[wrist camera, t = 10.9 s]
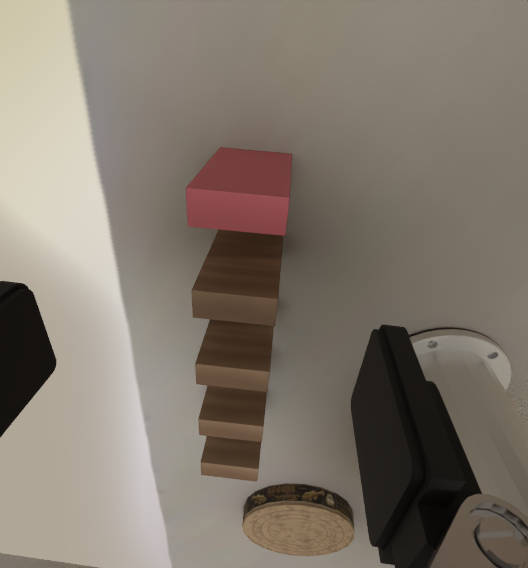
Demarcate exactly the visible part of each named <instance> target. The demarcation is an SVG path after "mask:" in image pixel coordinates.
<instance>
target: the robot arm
mask: <svg viewBox="0 0 528 568" xmlns="http://www.w3.org/2000/svg"><path fill="white" fill-rule="evenodd" d="M55 367H56V358H55V355H54V352H53V349H52V346H51V343H50V341H49V338H48V335H47V332H46V329H45V326H44V323H43V320H42V317H41V314H40V311H39V308H38V305H37V303H36V300H35V297H34V294H33V292H32V291H31V290H29V289H28V287H27V286H26V285H25V284H22V283H15V282H6V281H0V437H1V436H2V435H3V433H4V432H5V431H6V430H7V428H8V427H9V426H10V425H11V423H12V422H13V421H14V420H15V418H16V417H17V416H18V415H19V413H20V412H21V411H22V410H23V409H24V407H25V406H26V405H27V404H28V402H29V401H30V400H31V399H32V398H33V396H34V395H35V394H36V393H37V391H38V390H39V389H40V388H41V387H42V385H43V384H44V383H45V382H46V380H47V379H48V378H49V377H50V375H51V374H52V373H53V371H54V370H55ZM511 375H512V370H511V365H510V362H509V360H508V358H507V356H506V355H505V353H504V352H503V351H502V350H501V348H500V347H499V346H498V345H497V344H496V343H495V342H493V341H492V340H491V339H489V338H487V337H485V336H483V335H481V334H478V333H474V332H471V331H467V330H457V329H445V330H435V331H429V332H424V333H421V334H418V335H415V336H411V337H409V335H408V333H407V330H406V329H405V328H404V327H399V326H390V325H381V327H380V328H379V330H377V329H374V330H373V331H372V333H371V336H370V340H369V343H368V346H367V349H366V352H365V356H364V359H363V362H362V365H361V369H360V372H359V375H358V378H357V381H356V385H355V388H354V391H353V394H352V398H351V412H352V419H353V426H354V433H355V441H356V448H357V455H358V462H359V469H360V476H361V483H362V490H363V497H364V504H365V511H366V519H367V526H368V533H369V539H370V542H371V545H372V546H374V547H378V549H379V556H380V562H381V563H384V564H391V565H395V568H528V426H527V424H526V422H525V421H524V419H523V418H522V416H521V414H520V413H519V411H518V410H517V408H516V406H515V405H514V403H513V402H512V400H511V398H510V397H509V395H508V394H507V392H506V390H507V388H508V386H509V383H510V381H511ZM0 568H97V567H90V566H83V565H77V564H70V563H63V562H56V561H50V560H43V559H36V558H29V557H22V556H15V555H9V554H2V553H0Z"/></svg>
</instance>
